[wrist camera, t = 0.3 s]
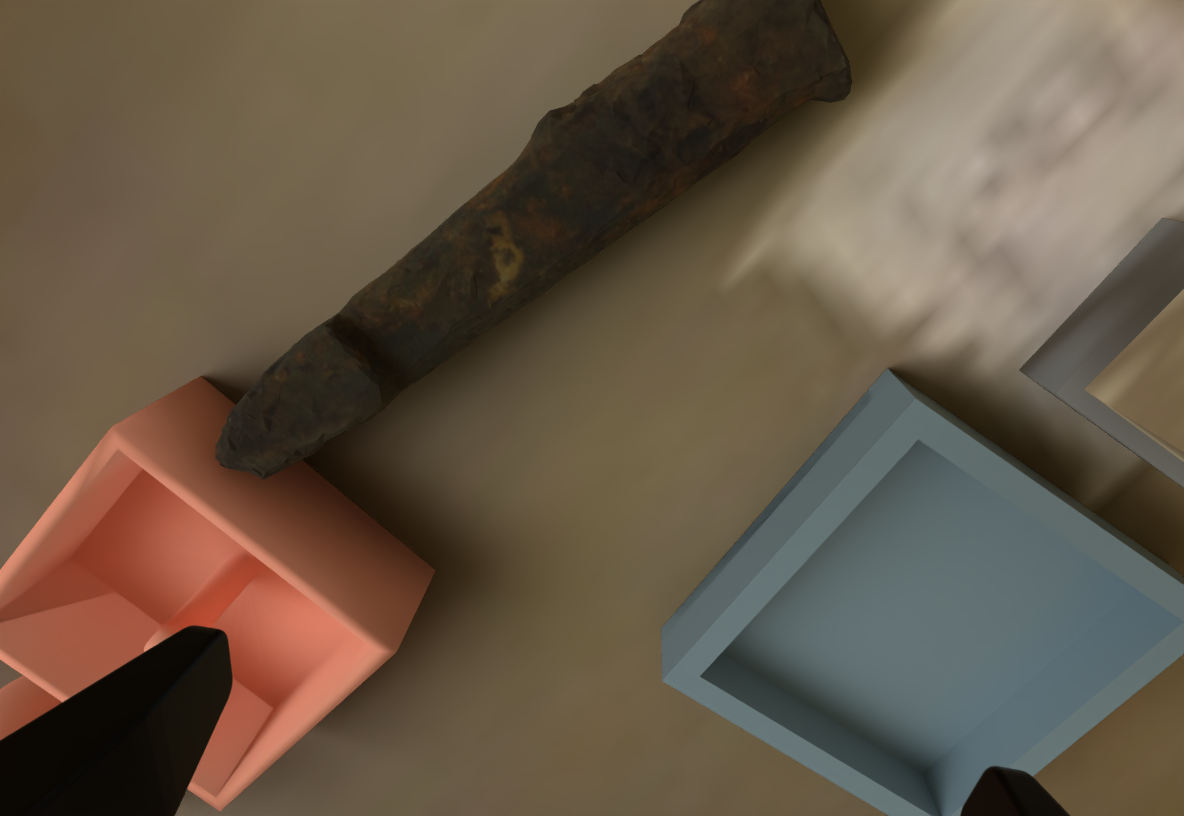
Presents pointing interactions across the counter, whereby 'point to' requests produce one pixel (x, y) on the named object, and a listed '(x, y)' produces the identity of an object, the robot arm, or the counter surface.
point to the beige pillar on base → (1128, 353)
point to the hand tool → (545, 216)
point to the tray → (922, 612)
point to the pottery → (205, 584)
